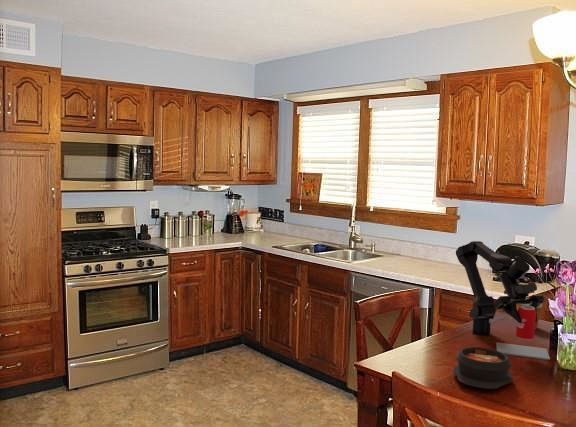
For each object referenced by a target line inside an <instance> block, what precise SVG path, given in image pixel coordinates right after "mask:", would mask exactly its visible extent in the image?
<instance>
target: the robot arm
mask: <svg viewBox="0 0 576 427" xmlns="http://www.w3.org/2000/svg"><path fill="white" fill-rule="evenodd" d="M455 256H456V258H457V260H458V263H460V264H461V266H463V267H464V270H465V272H466V275H467V279H468V281H469V284H470V288H471V291H472V294H473V300H472V301H473V302H472V308H471V309H470V310H469V312H468V314H469V318H471V319H472V320H473V321H472V330H471V331H472V334H474V335H483V336H490V334H491V321H490V320H494V318H495V316H496V312H497V310H502V312H504V313H506V314H508V315H509V316H510V317H512V318H513V319H514V320H515V321H516V323H517V322H519V323H522V320H521V317H520V315H519V313H518V308H517V305H520V304H526V305H528V306H532V307H534V308H535V311H536V320H535V323H536V322H537V307H538V306H540V305H541V304H543V303H544V302H545V301H546V299H545V297H544V295H542V294H535V292H536V291H537V290H538V286H537V284H536V283H535V282H534V281H533V282H528V283H527V284H525V283H524V284H523V283H520V282H519V280H520V279H522V278H523V277H524V276H525V275H526V274H527V273H528V271H529V270H530V268H531V267H530V264H529V263H528V262H527V261H526V260H525V259H522V258H521V256H515V257H514V258H513V260H512V258H511V257H509V256H506V255H503V254H499V253H497V252H496V251H494V250H493V249H492V248H490V247H489V246H487V245H486V244H484V242H483V241H481V240H475V241H474V240H473V241H470V242H469V243H467V244H463V245H461V246H458V248H457V249H455ZM478 256H480V257H481V258H483V259H484V260H485V261H486V262H488V263H489V264H488V266H489V267H490V268H491V270H492V271H493V272H494V273H501V274H498V275H497V278H496V281H497V282H501V283H502V286H503V288H504V291H503V294H504V295H500V296H499V297H498V298H497V299H496V300H495V301H494V297H493V296H492V295H491V296H489V295H488V294H487V292H486V289H485V286H484V283H483V281H482V278H481V274H480V272H479V268H478V265H477V261H478V258H479V257H478ZM530 294H532V295H531V296H530V297H529V295H530ZM526 298H529V299H526Z"/></svg>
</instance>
